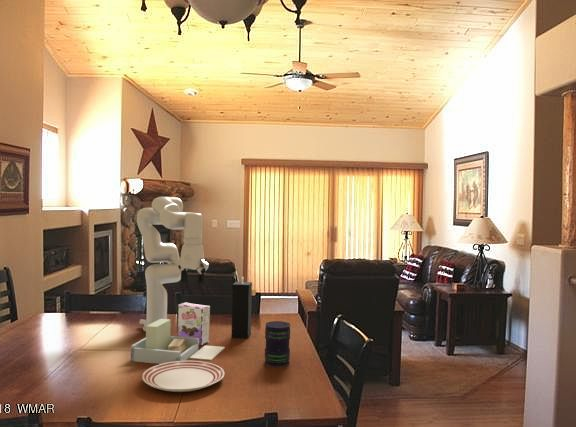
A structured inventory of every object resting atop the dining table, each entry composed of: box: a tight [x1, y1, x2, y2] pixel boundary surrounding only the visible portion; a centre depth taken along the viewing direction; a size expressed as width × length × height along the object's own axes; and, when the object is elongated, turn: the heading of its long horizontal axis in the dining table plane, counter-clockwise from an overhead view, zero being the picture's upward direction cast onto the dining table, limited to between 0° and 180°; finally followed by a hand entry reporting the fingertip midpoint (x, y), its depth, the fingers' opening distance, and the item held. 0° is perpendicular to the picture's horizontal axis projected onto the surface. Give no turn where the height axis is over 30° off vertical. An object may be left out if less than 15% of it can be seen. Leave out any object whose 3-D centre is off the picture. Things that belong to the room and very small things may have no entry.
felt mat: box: [189, 344, 225, 361], centre depth 181 cm, size 9×16×1 cm, turn 169°
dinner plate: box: [141, 360, 225, 393], centre depth 151 cm, size 27×27×3 cm
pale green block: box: [145, 318, 172, 350], centre depth 178 cm, size 4×12×13 cm, turn 169°
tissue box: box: [231, 276, 253, 339], centre depth 206 cm, size 8×8×28 cm
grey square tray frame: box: [130, 335, 200, 365], centre depth 177 cm, size 20×19×6 cm
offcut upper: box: [168, 339, 185, 351], centre depth 176 cm, size 4×10×3 cm, turn 0°
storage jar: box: [264, 320, 291, 368], centre depth 171 cm, size 10×10×15 cm
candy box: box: [177, 301, 211, 346], centre depth 196 cm, size 14×6×16 cm, turn 62°
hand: (192, 282), depth 187 cm, fingers open, 9 cm apart
